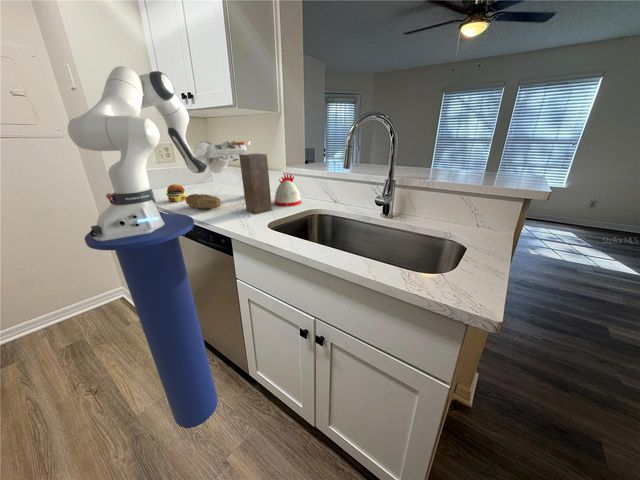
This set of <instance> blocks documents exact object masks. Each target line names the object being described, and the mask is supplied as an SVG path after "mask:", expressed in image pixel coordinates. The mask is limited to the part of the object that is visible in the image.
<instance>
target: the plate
mask: <svg viewBox="0 0 640 480" xmlns="http://www.w3.org/2000/svg"><path fill="white" fill-rule="evenodd" d="M250 143H251V142H250V141H236V142H233V141H228V144H231V145H245V146H247V145H248V146H249V145H250Z"/></svg>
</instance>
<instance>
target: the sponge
mask: <svg viewBox="0 0 640 480" xmlns="http://www.w3.org/2000/svg"><path fill="white" fill-rule="evenodd" d="M185 203H186V204H187V205H188V207H189V206H190V207H193V208H196V209H202V210H206V209H207V210H209V209H211V210H212V209H215V208H220V206H221V205H222V203H221V199H220V198H219V197H217V196H214V195H211V194H207V193H205V194H203V193H201V194H200V193H199V194H198V193H192V194H191V193H190V194H187V196H186V199H185Z"/></svg>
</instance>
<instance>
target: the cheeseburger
mask: <svg viewBox="0 0 640 480" xmlns="http://www.w3.org/2000/svg"><path fill="white" fill-rule="evenodd" d="M185 190H186V189H185V188H184V186H183V185H181V184H170V185H169V186H168V187H167V189H166V193H165V194H166V197H167V199H168V201H169V202H175V203H180V202H182V201H186V197H187V196H188V194H187V192H186V191H185Z"/></svg>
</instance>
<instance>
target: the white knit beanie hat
mask: <svg viewBox="0 0 640 480" xmlns="http://www.w3.org/2000/svg"><path fill="white" fill-rule="evenodd" d="M280 178H281V179H278V182H279V185H278V186H277V188H276V190H275V195H274V204H275V205H276V206H278V207H293V206H297V205H300V204H301V203H302V198H301V194H300V192H299V190H298V189H299V188H298V187H297V186H296V184H295V183H293V182H294V179H295V176H292V174H291V173H290V174H288V173H286V174H284V175H283V176H281V177H280Z"/></svg>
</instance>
